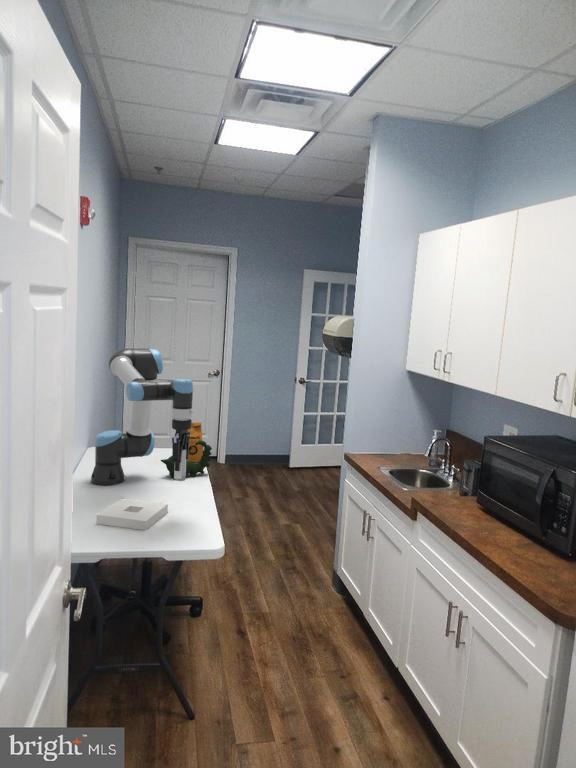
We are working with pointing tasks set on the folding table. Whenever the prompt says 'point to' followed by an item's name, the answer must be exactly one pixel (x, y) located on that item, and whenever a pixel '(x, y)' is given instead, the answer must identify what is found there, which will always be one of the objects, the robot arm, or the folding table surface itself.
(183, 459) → the steel pin
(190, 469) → the toy figurine
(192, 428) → the coffee package
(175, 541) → the folding table surface
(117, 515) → the socket block
